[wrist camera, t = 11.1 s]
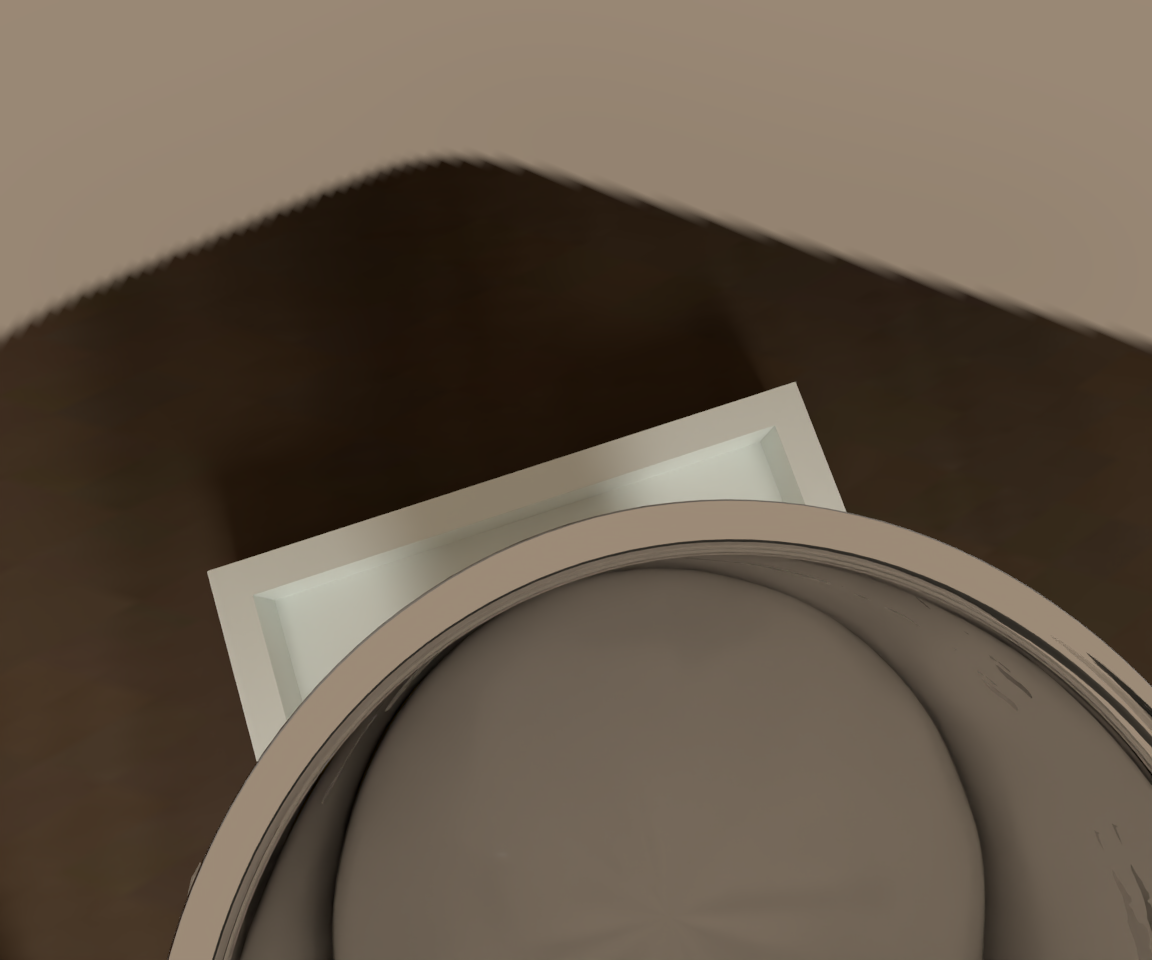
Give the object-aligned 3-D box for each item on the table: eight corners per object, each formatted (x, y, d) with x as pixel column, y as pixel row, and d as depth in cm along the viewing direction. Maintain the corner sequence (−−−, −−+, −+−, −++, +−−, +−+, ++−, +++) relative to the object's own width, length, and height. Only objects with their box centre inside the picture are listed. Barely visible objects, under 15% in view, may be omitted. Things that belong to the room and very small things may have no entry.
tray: (774, 407, 24) (795, 381, 22) (989, 966, 21) (1037, 1000, 19) (240, 580, 23) (206, 571, 21) (403, 1189, 20) (384, 1251, 18)
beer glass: (379, 871, 19) (-175, 1494, 5) (526, 560, 21) (452, 283, 6) (695, 1027, 19) (1177, 2256, 4) (825, 698, 20) (1539, 765, 6)
